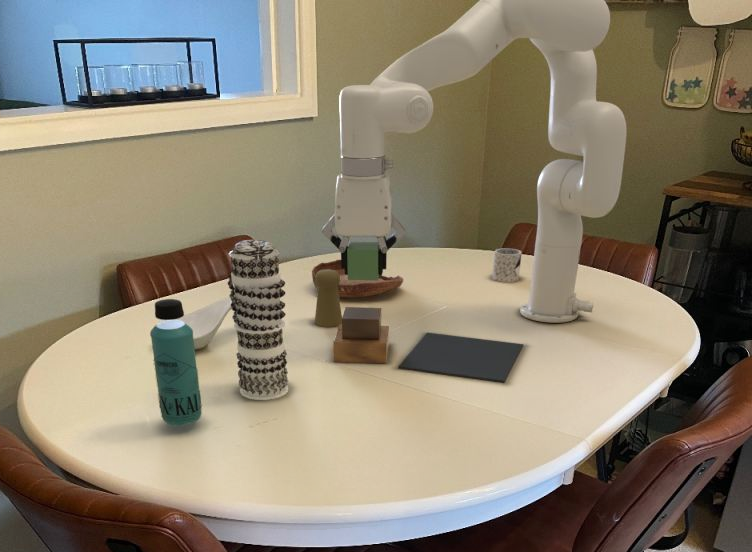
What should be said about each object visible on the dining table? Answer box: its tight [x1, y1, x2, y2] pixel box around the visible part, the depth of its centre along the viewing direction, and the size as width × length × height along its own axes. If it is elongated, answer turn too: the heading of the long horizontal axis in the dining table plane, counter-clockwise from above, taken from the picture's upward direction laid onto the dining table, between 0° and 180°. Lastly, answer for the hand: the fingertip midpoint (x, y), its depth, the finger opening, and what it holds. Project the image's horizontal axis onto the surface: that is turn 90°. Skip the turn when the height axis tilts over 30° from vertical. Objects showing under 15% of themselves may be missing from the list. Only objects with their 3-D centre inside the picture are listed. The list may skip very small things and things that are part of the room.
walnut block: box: [342, 306, 383, 340], centre depth 147 cm, size 7×7×4 cm
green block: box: [347, 241, 380, 280], centre depth 141 cm, size 6×6×6 cm
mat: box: [397, 332, 524, 384], centre depth 149 cm, size 20×20×1 cm
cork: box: [314, 269, 343, 328], centre depth 163 cm, size 6×6×11 cm
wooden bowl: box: [311, 259, 404, 298], centre depth 184 cm, size 22×20×5 cm
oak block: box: [333, 324, 390, 364], centre depth 149 cm, size 10×10×4 cm
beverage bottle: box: [149, 298, 203, 426], centre depth 118 cm, size 6×7×20 cm
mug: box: [492, 247, 523, 283], centre depth 195 cm, size 10×7×7 cm
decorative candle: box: [227, 239, 289, 401], centre depth 128 cm, size 9×9×25 cm
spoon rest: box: [174, 297, 236, 351], centre depth 155 cm, size 24×12×7 cm, turn 135°
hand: (363, 272), depth 142 cm, fingers closed on green block, 5 cm apart
